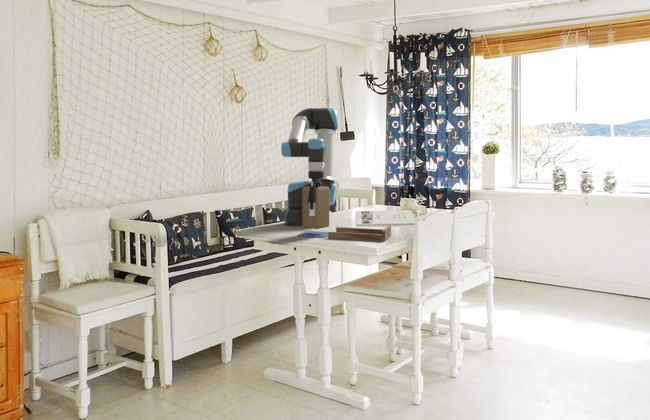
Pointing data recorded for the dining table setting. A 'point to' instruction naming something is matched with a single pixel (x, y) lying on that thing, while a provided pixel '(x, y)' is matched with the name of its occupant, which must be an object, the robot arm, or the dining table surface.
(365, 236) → the frame
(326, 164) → the robot arm
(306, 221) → the wooden block
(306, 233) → the blue square plate
